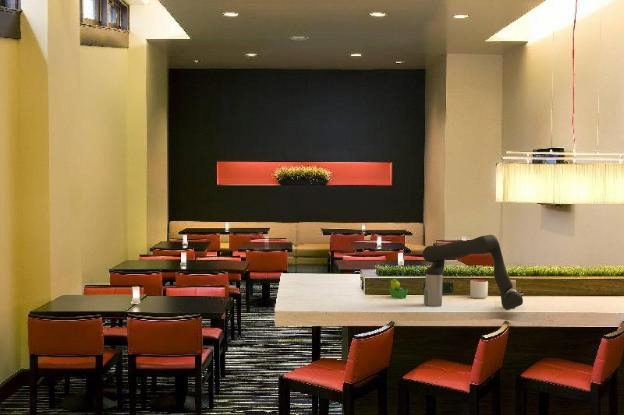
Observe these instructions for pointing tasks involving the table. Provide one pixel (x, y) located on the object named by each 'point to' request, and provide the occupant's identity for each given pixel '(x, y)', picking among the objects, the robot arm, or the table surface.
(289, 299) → the table surface
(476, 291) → the cup
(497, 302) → the mat
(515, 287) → the block
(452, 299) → the table surface
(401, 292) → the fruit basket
